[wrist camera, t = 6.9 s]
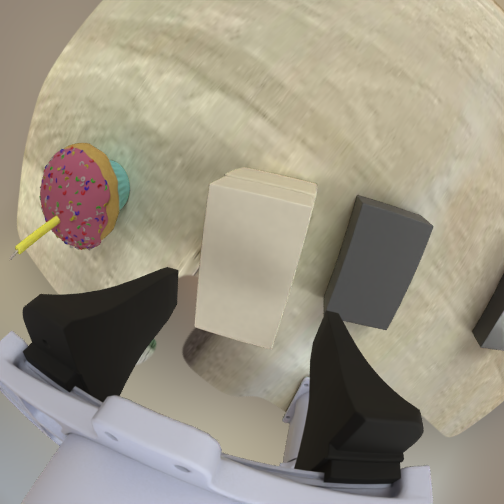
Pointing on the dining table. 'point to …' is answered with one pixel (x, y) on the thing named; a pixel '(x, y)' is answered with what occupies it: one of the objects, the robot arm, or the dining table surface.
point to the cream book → (249, 258)
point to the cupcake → (80, 197)
